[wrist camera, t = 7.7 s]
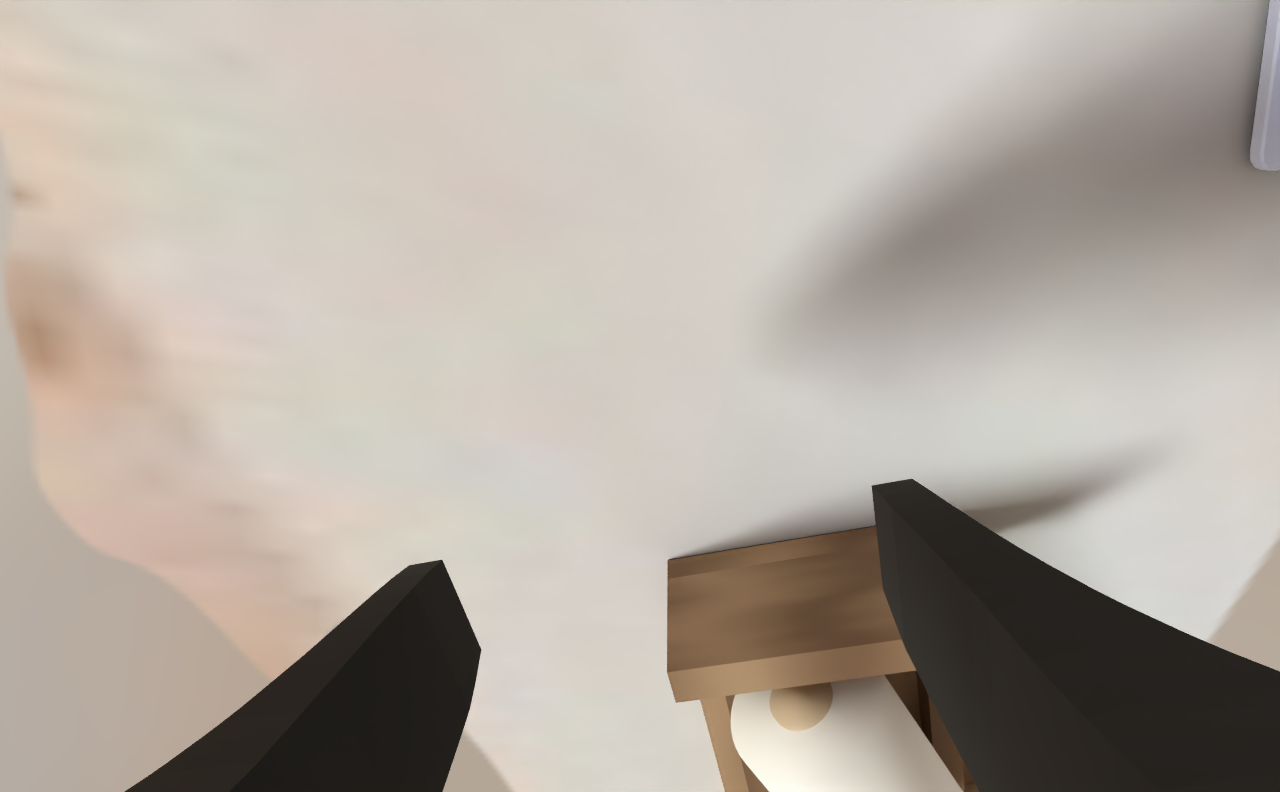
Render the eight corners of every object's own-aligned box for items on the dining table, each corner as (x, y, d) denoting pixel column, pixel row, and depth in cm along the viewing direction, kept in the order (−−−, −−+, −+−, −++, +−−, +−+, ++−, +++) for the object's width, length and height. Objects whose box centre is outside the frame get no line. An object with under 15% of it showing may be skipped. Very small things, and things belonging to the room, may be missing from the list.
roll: (838, 602, 21) (911, 722, 17) (939, 750, 24) (1025, 891, 19) (713, 675, 22) (749, 811, 17) (825, 812, 24) (882, 964, 20)
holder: (958, 512, 21) (1038, 620, 17) (971, 779, 26) (1035, 918, 22) (667, 560, 22) (667, 672, 18) (733, 805, 27) (745, 942, 23)
